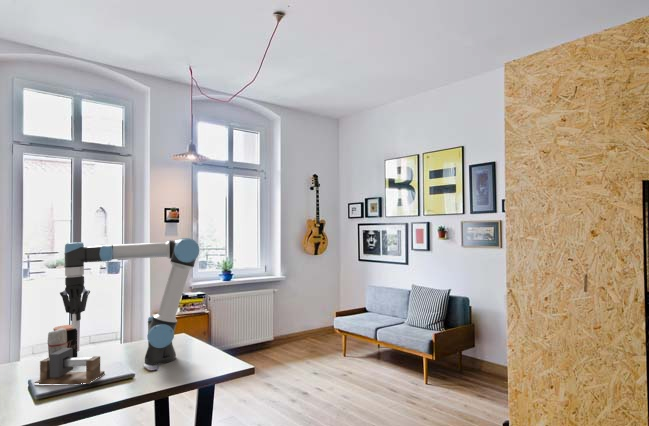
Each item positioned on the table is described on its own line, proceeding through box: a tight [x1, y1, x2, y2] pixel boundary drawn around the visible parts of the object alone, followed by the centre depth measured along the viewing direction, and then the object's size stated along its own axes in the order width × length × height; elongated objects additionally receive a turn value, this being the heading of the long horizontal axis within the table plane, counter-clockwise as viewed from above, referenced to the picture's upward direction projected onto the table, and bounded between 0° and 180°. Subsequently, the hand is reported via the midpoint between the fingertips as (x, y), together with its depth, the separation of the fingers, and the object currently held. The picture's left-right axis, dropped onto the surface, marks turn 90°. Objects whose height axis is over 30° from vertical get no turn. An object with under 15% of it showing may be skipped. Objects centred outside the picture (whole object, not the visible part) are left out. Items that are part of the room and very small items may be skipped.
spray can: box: [47, 328, 67, 358], centre depth 204 cm, size 8×8×20 cm
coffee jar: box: [53, 324, 78, 358], centre depth 217 cm, size 11×11×18 cm
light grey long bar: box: [49, 356, 94, 367], centre depth 190 cm, size 21×4×4 cm, turn 89°
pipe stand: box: [34, 355, 105, 385], centre depth 189 cm, size 24×13×10 cm, turn 89°
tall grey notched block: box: [50, 348, 74, 377], centre depth 190 cm, size 4×10×10 cm, turn 179°
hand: (75, 327), depth 190 cm, fingers closed
